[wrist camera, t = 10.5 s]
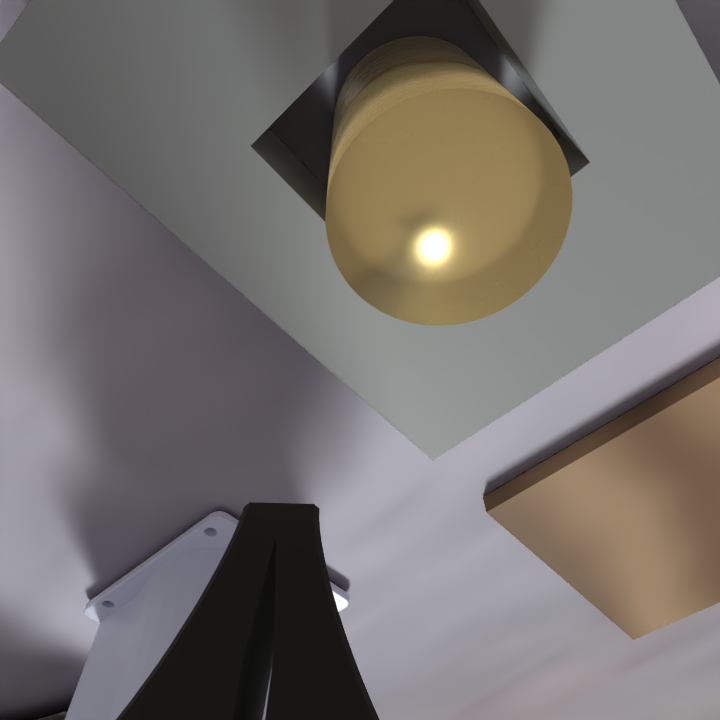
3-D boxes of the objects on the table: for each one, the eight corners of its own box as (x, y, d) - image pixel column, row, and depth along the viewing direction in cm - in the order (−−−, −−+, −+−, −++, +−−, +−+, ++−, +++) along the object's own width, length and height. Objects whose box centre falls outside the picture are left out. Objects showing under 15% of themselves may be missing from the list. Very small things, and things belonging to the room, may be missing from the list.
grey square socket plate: (425, 412, 22) (432, 460, 20) (31, 51, 16) (-17, 68, 14) (744, 195, 18) (795, 227, 16) (389, -437, 11) (399, -522, 9)
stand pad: (627, 624, 30) (633, 639, 29) (482, 497, 25) (486, 512, 24) (887, 507, 26) (901, 522, 25) (776, 324, 20) (790, 336, 20)
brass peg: (482, 205, 18) (545, 327, 12) (333, 202, 18) (325, 324, 12) (506, 38, 16) (599, 91, 10) (333, 33, 16) (324, 84, 10)
